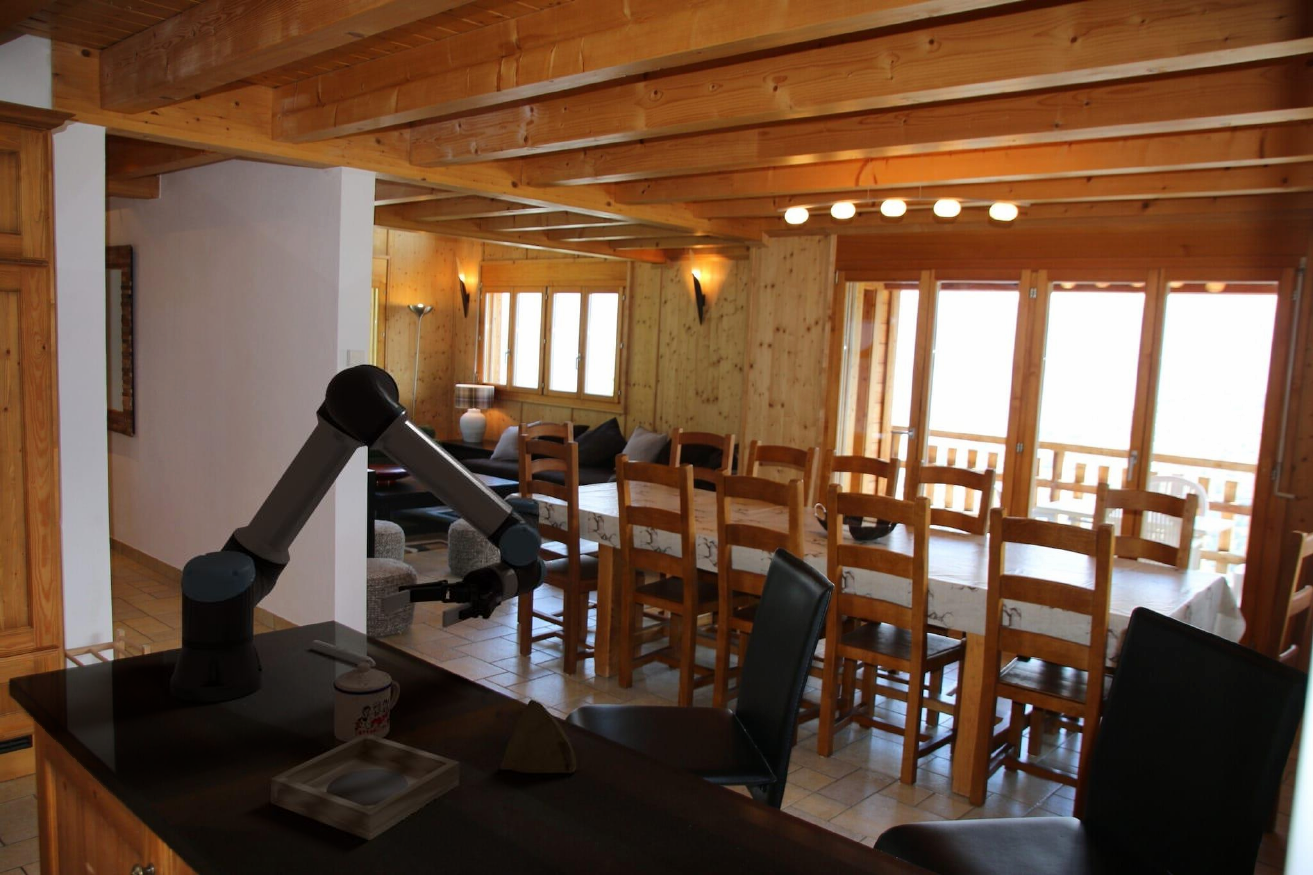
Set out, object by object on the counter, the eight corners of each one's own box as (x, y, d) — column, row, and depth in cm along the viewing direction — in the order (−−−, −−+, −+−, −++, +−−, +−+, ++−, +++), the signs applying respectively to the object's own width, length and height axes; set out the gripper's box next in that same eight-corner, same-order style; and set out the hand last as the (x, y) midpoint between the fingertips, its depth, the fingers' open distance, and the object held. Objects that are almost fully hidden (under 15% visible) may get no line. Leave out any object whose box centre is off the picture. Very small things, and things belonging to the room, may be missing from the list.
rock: (595, 751, 146) (549, 724, 151) (580, 720, 140) (532, 693, 146) (551, 809, 140) (505, 778, 146) (533, 779, 135) (486, 749, 140)
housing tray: (270, 802, 129) (271, 778, 128) (365, 754, 145) (366, 733, 144) (369, 840, 121) (370, 814, 120) (458, 785, 137) (459, 762, 137)
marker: (379, 668, 183) (379, 657, 182) (371, 671, 181) (371, 659, 180) (319, 648, 192) (319, 637, 192) (310, 650, 190) (310, 639, 190)
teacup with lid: (357, 750, 146) (359, 678, 145) (320, 734, 151) (321, 664, 150) (416, 726, 156) (418, 658, 155) (379, 712, 161) (381, 646, 160)
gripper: (542, 616, 174) (470, 647, 155) (436, 594, 185) (357, 620, 166) (543, 577, 173) (471, 603, 155) (437, 557, 185) (358, 579, 166)
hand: (412, 612), depth 161 cm, fingers open, 13 cm apart
